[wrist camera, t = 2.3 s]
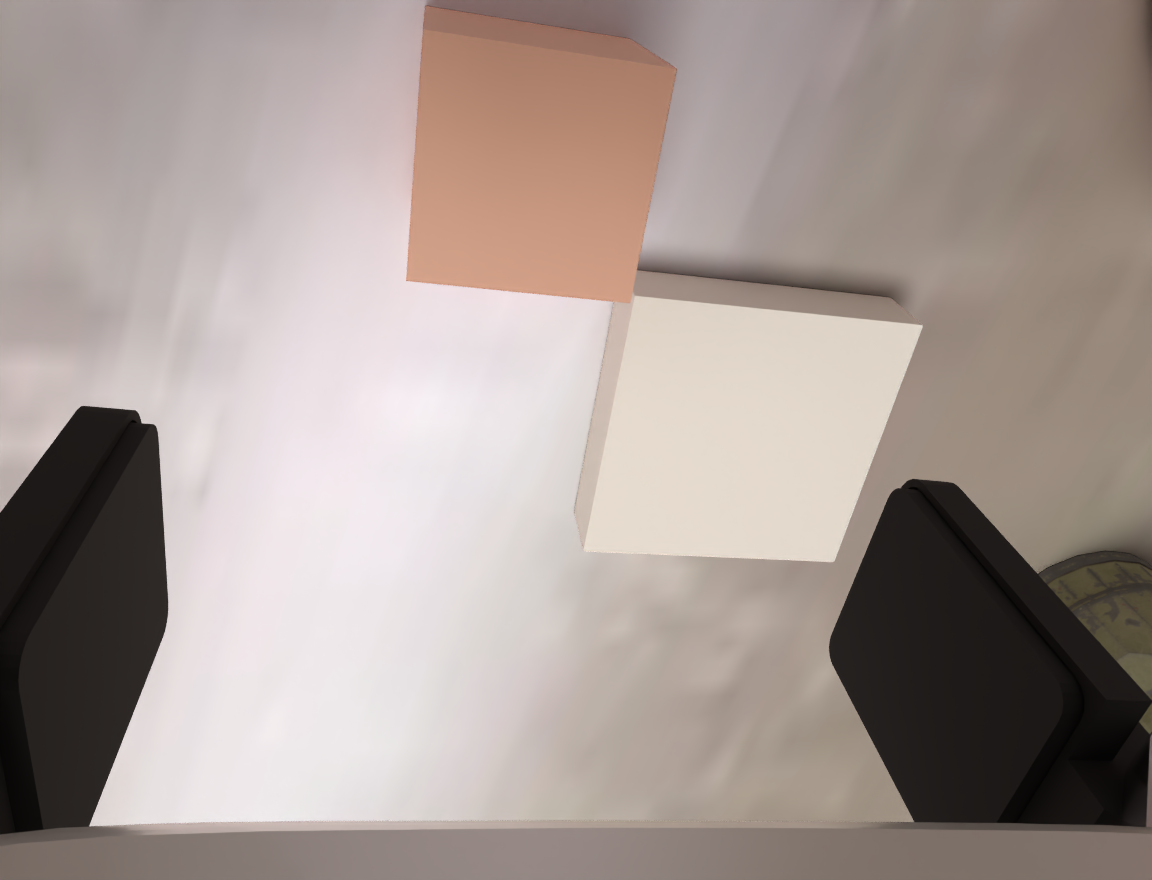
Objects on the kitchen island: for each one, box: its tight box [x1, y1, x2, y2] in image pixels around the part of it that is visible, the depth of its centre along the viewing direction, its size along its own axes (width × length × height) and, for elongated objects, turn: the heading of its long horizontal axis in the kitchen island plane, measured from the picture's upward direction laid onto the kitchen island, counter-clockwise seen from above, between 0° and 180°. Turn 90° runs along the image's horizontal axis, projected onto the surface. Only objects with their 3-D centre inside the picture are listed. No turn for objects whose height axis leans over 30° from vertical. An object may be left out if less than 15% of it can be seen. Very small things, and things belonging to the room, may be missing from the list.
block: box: [574, 270, 923, 562], centre depth 32 cm, size 10×10×2 cm
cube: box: [406, 6, 677, 303], centre depth 25 cm, size 6×6×6 cm
